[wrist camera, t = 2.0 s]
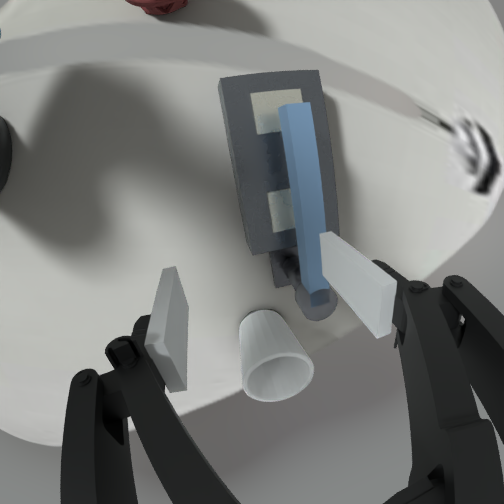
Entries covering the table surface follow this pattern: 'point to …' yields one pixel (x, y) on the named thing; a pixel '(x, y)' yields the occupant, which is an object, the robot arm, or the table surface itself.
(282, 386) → the cup
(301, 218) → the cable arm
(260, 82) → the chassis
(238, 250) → the table surface
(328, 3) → the table surface
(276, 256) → the pivot post
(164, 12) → the mechanical component
